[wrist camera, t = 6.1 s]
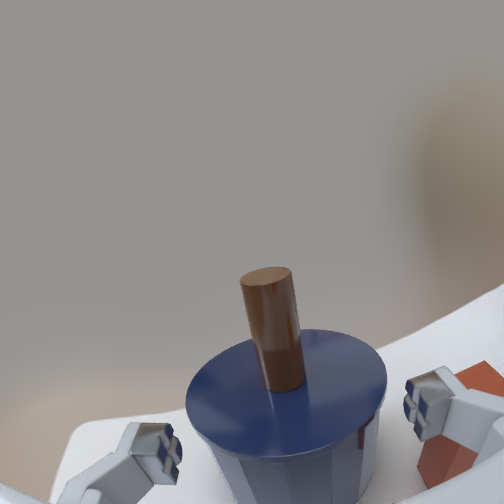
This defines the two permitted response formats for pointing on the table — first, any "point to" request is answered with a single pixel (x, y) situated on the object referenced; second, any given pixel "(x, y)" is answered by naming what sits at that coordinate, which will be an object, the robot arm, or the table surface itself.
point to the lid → (284, 382)
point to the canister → (304, 474)
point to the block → (446, 450)
